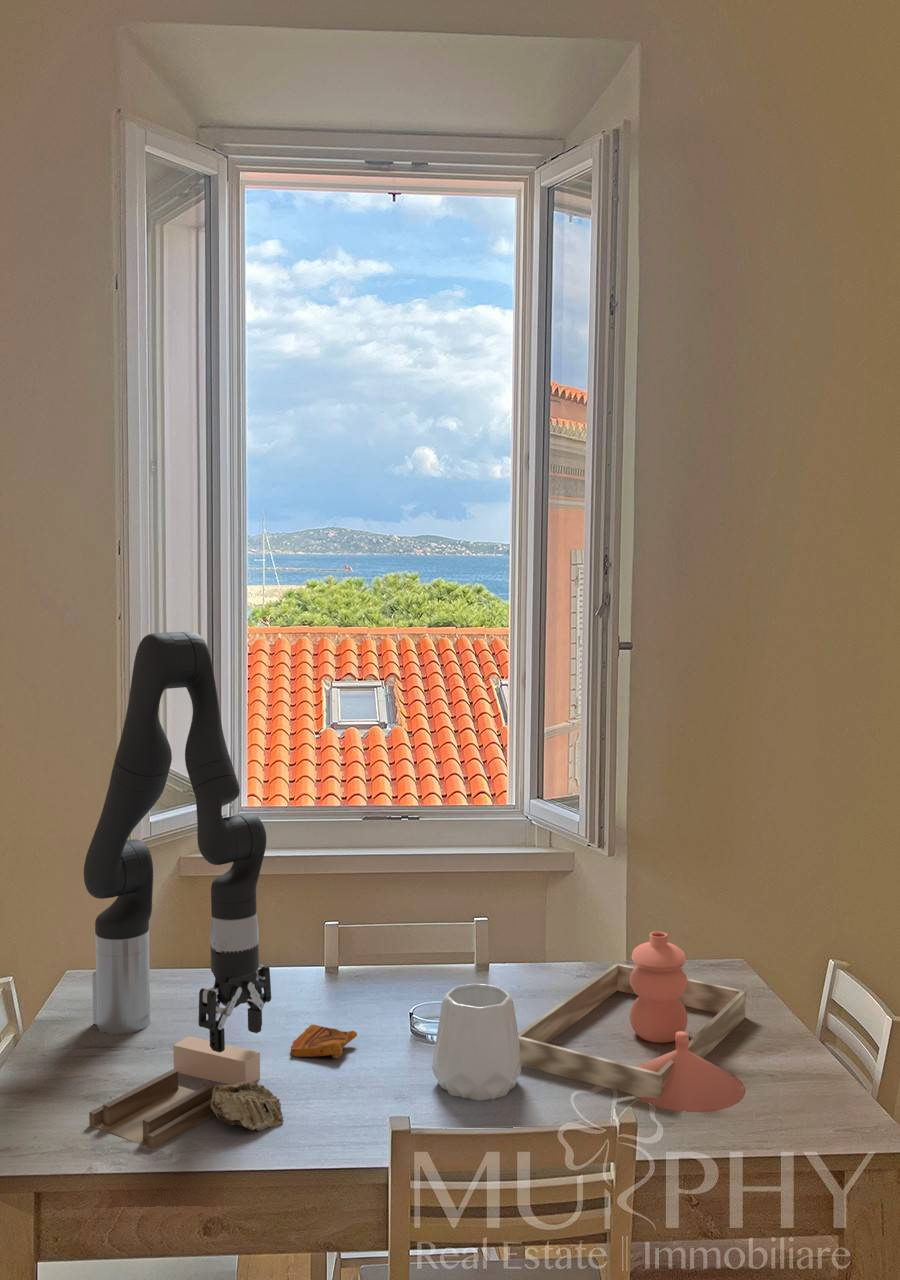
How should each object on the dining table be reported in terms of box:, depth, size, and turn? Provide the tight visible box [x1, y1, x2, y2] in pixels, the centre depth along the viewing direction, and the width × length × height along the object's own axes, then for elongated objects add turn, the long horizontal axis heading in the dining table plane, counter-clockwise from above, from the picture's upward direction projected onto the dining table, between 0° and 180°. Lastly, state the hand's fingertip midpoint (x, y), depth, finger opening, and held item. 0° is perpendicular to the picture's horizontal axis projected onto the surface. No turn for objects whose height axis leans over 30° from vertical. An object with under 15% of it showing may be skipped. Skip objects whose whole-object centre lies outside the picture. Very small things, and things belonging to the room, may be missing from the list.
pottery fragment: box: [290, 1024, 358, 1059], centre depth 204 cm, size 10×5×10 cm
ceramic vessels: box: [629, 931, 746, 1113], centre depth 197 cm, size 35×21×19 cm, turn 1°
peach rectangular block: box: [172, 1035, 261, 1085], centre depth 193 cm, size 14×4×5 cm, turn 65°
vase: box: [431, 983, 522, 1101], centre depth 190 cm, size 14×14×15 cm
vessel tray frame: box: [518, 963, 747, 1099], centre depth 208 cm, size 26×41×5 cm, turn 148°
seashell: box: [211, 1081, 284, 1132], centre depth 177 cm, size 11×7×10 cm
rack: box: [88, 1068, 218, 1149], centre depth 179 cm, size 13×16×4 cm
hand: (236, 1041), depth 190 cm, fingers open, 8 cm apart
